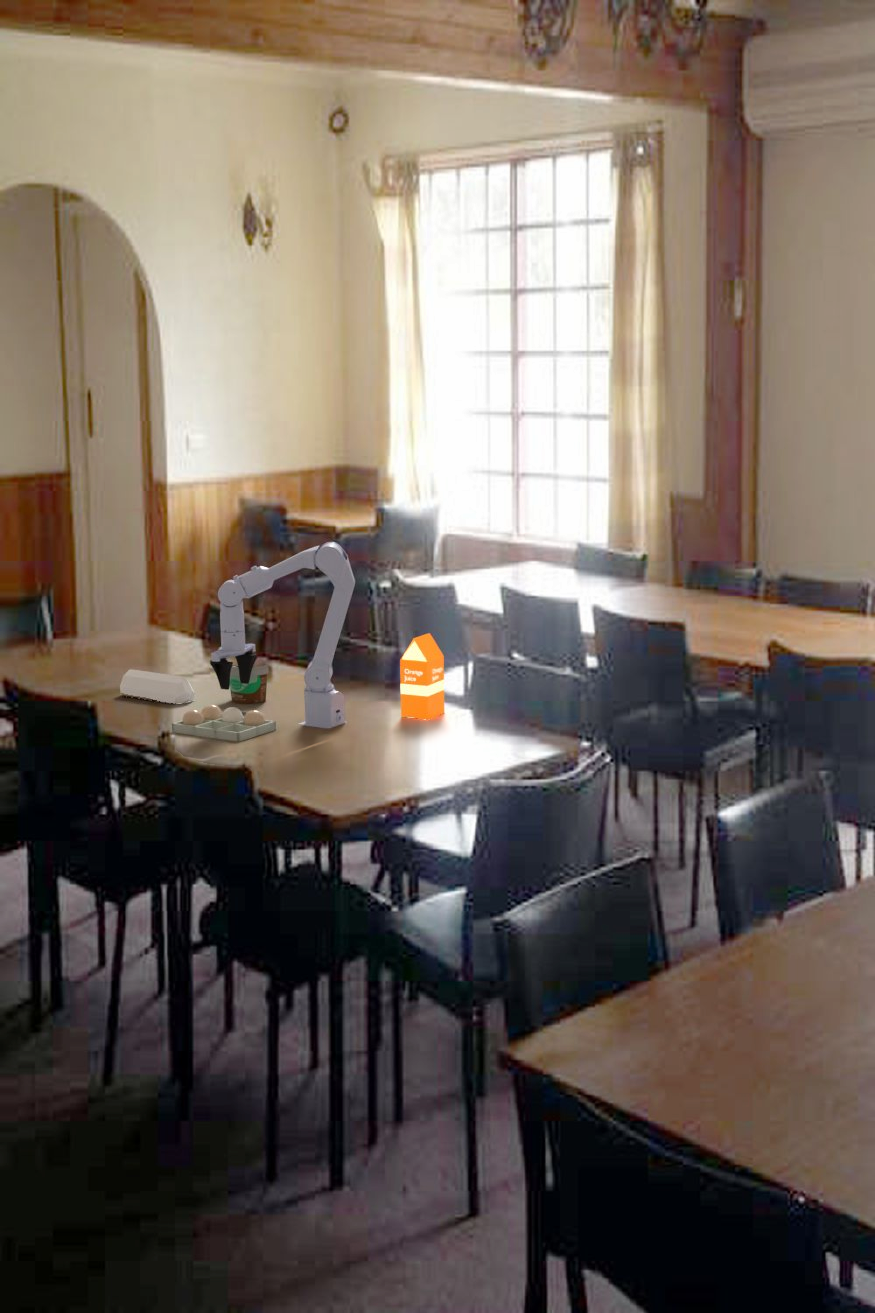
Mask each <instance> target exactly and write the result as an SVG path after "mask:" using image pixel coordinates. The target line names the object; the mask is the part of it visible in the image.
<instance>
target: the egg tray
mask: <svg viewBox="0 0 875 1313" xmlns="http://www.w3.org/2000/svg"><path fill="white" fill-rule="evenodd" d="M276 730H277V722H276V721H275V720H269V719H265V723H264V724H263V725H260V726H256V727H255V726H248V725H244V716H243V720H242V721H241V722H238V723H227V722H223V721H222V717H221V718H220V719H216V720H206V719H204V723H203V724H200V725H196V726H191V725H184V724H183V719H182V720H180V721H179V720H178V721H176V722H173V723H172V722H171V731H172V733H176V734H182V735H183V734H185V735H191V736H197V737H203V738H204V737H205V738H212V739H216V740H217V739H218V740H223V741H224V740H225V741H232V742H238V743H239V742H242V741H245V740H248V739H252V738H255V737H257V736H261V735H264V734H267V733H270V732H274V731H276Z"/></svg>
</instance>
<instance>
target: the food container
mask: <svg viewBox="0 0 875 1313" xmlns="http://www.w3.org/2000/svg"><path fill="white" fill-rule="evenodd" d="M268 674H270V668H269V666H268V665H263V666H262V665H261V666H253V668H252V671H251V676H250V681H249V684H244V683H241V682H240V677H239V668H238V665H233V664H232V668H231V672H230V687H229V691H230V697H231V702H232V703H234V704H238V705H239V704H240V705H255V704H262V703H266V702H267V687H268V686H267V683H268Z"/></svg>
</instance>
